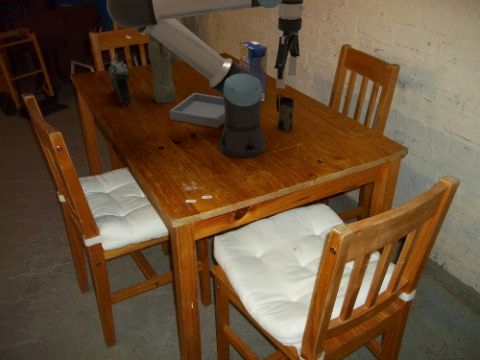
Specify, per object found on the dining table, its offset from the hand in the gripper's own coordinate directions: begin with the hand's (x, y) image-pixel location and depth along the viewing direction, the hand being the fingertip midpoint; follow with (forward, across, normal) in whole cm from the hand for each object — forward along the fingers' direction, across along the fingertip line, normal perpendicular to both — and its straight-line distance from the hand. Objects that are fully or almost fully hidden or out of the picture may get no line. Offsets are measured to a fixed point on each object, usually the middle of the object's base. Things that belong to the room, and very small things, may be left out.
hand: (286, 81), depth 144 cm
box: (+17, 0, +32) cm, 37 cm away
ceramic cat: (+18, -1, +72) cm, 74 cm away
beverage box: (+18, +23, +21) cm, 36 cm away
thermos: (+18, +6, +54) cm, 57 cm away
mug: (+18, 0, 0) cm, 18 cm away
